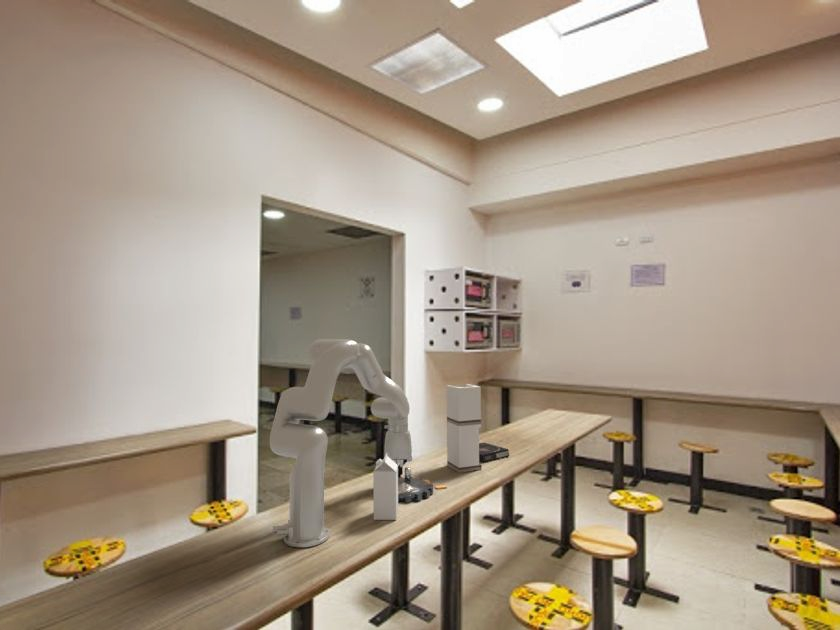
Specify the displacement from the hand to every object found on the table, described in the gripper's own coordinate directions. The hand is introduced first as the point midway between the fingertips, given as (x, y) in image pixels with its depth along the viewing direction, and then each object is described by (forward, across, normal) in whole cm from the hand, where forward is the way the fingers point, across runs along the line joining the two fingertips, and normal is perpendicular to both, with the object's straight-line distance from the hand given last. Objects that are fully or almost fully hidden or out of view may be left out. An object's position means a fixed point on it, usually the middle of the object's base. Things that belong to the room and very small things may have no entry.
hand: (398, 476), depth 173 cm
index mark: (+3, +16, -2) cm, 17 cm away
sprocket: (+3, +2, -7) cm, 8 cm away
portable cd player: (+4, +36, +43) cm, 56 cm away
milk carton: (+3, -1, -29) cm, 29 cm away
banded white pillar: (+4, +26, +24) cm, 36 cm away
